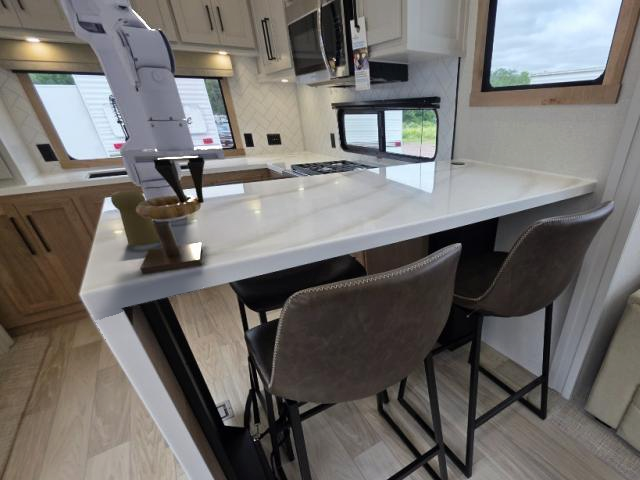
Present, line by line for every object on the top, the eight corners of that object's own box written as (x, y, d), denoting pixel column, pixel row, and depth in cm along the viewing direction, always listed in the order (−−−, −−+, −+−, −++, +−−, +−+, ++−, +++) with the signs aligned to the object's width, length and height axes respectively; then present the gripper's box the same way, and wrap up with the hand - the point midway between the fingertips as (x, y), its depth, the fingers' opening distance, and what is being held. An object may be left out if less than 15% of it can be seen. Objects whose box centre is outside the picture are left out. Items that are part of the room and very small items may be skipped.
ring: (144, 209, 63) (140, 197, 62) (203, 203, 67) (199, 192, 66) (134, 224, 55) (128, 211, 54) (201, 216, 59) (197, 204, 58)
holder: (151, 255, 64) (135, 219, 60) (203, 248, 67) (191, 213, 63) (142, 274, 57) (125, 234, 53) (201, 265, 60) (188, 227, 56)
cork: (170, 243, 69) (150, 189, 64) (139, 253, 65) (114, 196, 59) (155, 238, 72) (134, 186, 66) (123, 247, 67) (98, 192, 62)
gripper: (106, 121, 49) (143, 212, 56) (215, 120, 54) (235, 203, 61) (117, 119, 54) (149, 202, 61) (215, 118, 60) (234, 195, 67)
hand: (192, 202), depth 62 cm, fingers closed on ring, 2 cm apart
